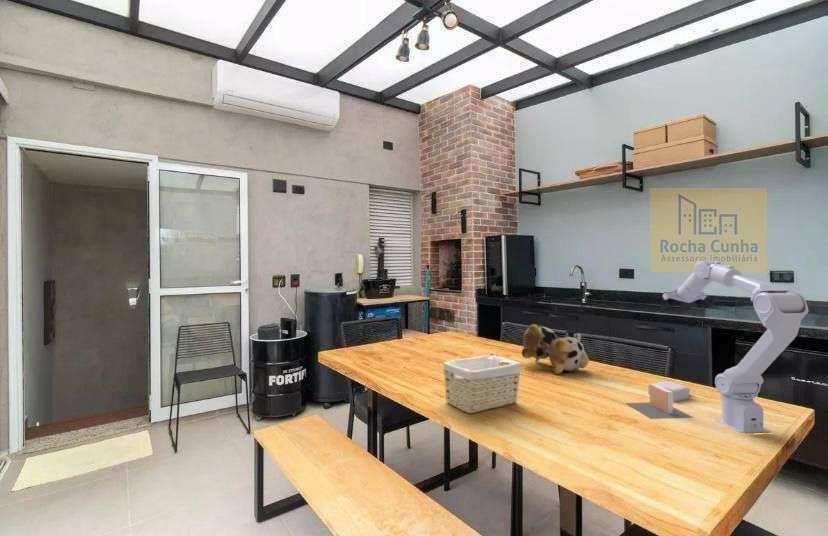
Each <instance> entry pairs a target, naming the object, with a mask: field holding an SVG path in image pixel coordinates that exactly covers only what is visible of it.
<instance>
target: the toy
mask: <svg viewBox="0 0 828 536" xmlns="http://www.w3.org/2000/svg"><path fill="white" fill-rule="evenodd" d="M581 338H582V334H580V333H577V334H576V336H575V337H572V336H562V337H557V335H556V333H555V332H554V330H553V329H551V328H548V327H545V326H544V325H543V326H542V325H540V324H534V323H533V324H530V325H529V326H528V328H527V329H526V331H524V333H523V337H522V346H523V349H522V351H521V355H522V357H523V358H525V359H531V358H534V359H535V363H538V362H539V361H540V360H542V359H543V360H544V359H547V358H549V362H550V363H551V370H552V371H551V372H552V373H554V374H556V375H560V374H561V373H563V372H565V371H567V372H566V373H570V372H573V371H575V370H577V369H580V368H581V369H585V367H587V366H588V364H589V361H590V359H589V356H588V354H587V352H586V351H585V348H584V344H583V343H582V342H581V340H582V339H581ZM569 371H570V372H569Z"/></svg>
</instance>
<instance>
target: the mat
mask: <svg viewBox="0 0 828 536" xmlns="http://www.w3.org/2000/svg"><path fill="white" fill-rule="evenodd" d="M624 404H625V405H626V406H629V407H630V408H632V409H633V410H635V411H637V412H639V413H640V414H642V415H644V416H645V417H647V418H649V419H650V420H655V419H656V420H657V419H661V420H662V419H685V418H686V419H690V418H694V416H691V415H690V414H688V413H686V412H683V411H681V410H679V409H677V408H676V407H674V406H673V414H668V413H666V412H664V411H662V410H660V409H658V408H656V407H655V406H653V405H651V404H650V401H649V402H647V401H646V402H624Z"/></svg>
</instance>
